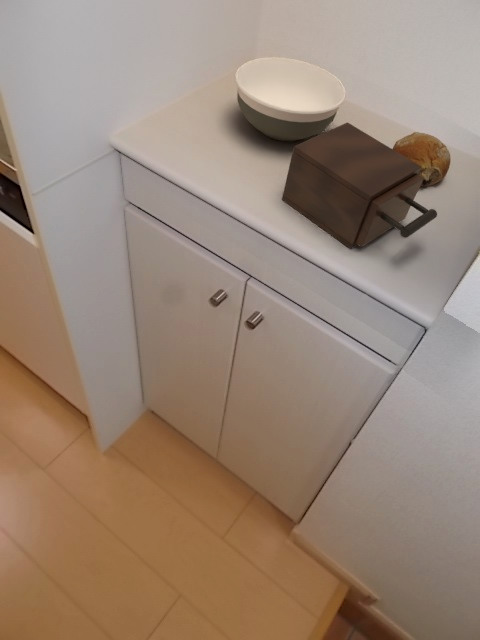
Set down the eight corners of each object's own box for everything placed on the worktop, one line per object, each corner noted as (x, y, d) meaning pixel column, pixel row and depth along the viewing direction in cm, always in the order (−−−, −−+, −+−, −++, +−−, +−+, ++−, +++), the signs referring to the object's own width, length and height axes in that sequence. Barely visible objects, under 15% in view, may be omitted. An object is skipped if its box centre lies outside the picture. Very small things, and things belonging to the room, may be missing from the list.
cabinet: (398, 217, 80) (421, 166, 73) (350, 249, 74) (370, 196, 67) (331, 173, 85) (347, 122, 79) (281, 199, 79) (293, 146, 72)
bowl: (293, 94, 101) (303, 51, 95) (354, 145, 92) (369, 101, 86) (210, 110, 93) (214, 64, 87) (267, 168, 84) (276, 120, 78)
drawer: (431, 236, 77) (452, 195, 71) (388, 266, 71) (408, 225, 66) (341, 177, 84) (355, 135, 78) (296, 201, 78) (307, 158, 72)
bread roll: (438, 191, 92) (461, 146, 89) (433, 195, 84) (459, 146, 80) (386, 169, 95) (407, 125, 91) (376, 171, 86) (399, 122, 83)
